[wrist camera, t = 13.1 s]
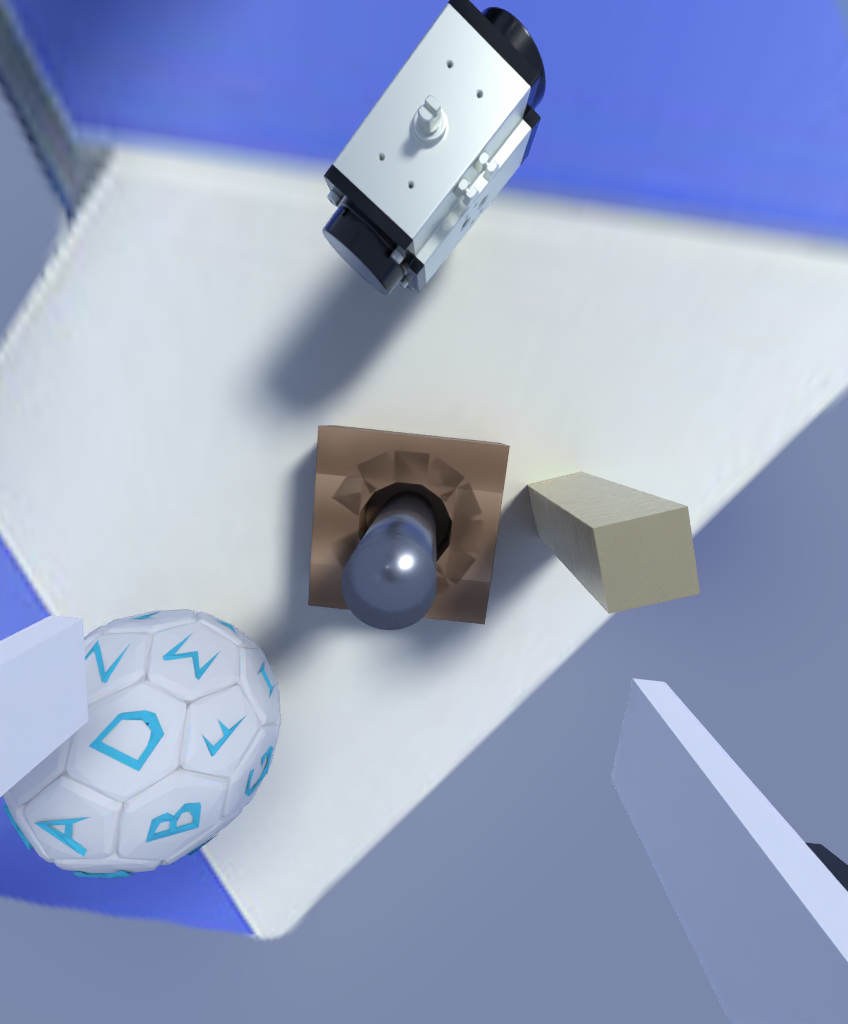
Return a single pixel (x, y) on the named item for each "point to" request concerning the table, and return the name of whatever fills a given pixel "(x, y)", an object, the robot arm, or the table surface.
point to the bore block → (418, 468)
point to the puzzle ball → (153, 747)
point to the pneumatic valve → (436, 146)
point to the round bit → (394, 565)
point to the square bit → (617, 540)
